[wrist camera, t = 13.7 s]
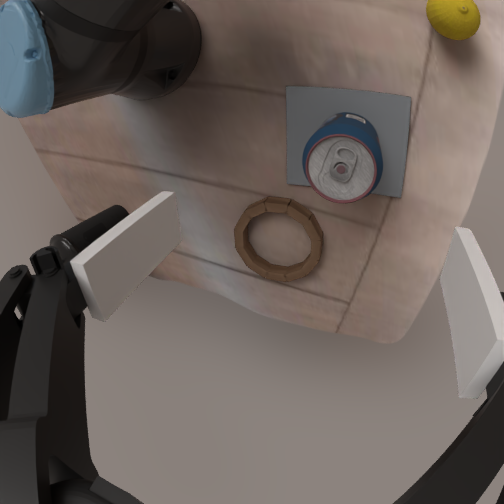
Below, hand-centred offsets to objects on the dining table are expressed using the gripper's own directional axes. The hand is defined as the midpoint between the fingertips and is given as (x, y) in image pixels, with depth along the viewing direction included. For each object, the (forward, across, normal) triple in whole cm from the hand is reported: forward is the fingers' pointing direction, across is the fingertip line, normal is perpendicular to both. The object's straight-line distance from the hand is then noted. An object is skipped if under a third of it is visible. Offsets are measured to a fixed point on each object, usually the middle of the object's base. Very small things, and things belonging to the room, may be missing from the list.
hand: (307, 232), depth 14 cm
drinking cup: (+25, -36, -15) cm, 46 cm away
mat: (+25, 0, -1) cm, 25 cm away
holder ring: (+25, -8, -15) cm, 30 cm away
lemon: (+25, +11, +15) cm, 31 cm away
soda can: (+24, +1, -1) cm, 24 cm away
